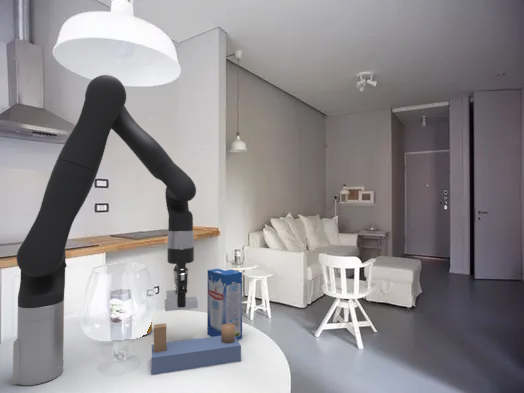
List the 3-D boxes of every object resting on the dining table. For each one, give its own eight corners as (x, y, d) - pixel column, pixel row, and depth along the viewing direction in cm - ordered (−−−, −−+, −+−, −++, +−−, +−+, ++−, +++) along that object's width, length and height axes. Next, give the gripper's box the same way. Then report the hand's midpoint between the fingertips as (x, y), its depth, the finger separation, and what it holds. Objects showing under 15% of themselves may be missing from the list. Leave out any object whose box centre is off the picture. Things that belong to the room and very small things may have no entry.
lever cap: (165, 311, 93) (165, 295, 93) (164, 306, 98) (164, 290, 98) (197, 308, 96) (197, 292, 96) (195, 303, 101) (195, 288, 101)
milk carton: (207, 334, 104) (207, 270, 104) (223, 329, 108) (223, 267, 108) (225, 344, 96) (225, 275, 97) (242, 338, 100) (242, 272, 101)
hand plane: (151, 374, 79) (151, 332, 79) (151, 360, 86) (151, 321, 87) (240, 361, 86) (240, 322, 86) (233, 348, 93) (233, 312, 94)
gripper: (166, 243, 103) (166, 299, 102) (168, 249, 89) (168, 313, 89) (191, 242, 105) (191, 296, 105) (196, 248, 92) (196, 310, 91)
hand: (180, 304), depth 97 cm, fingers closed on lever cap, 5 cm apart
